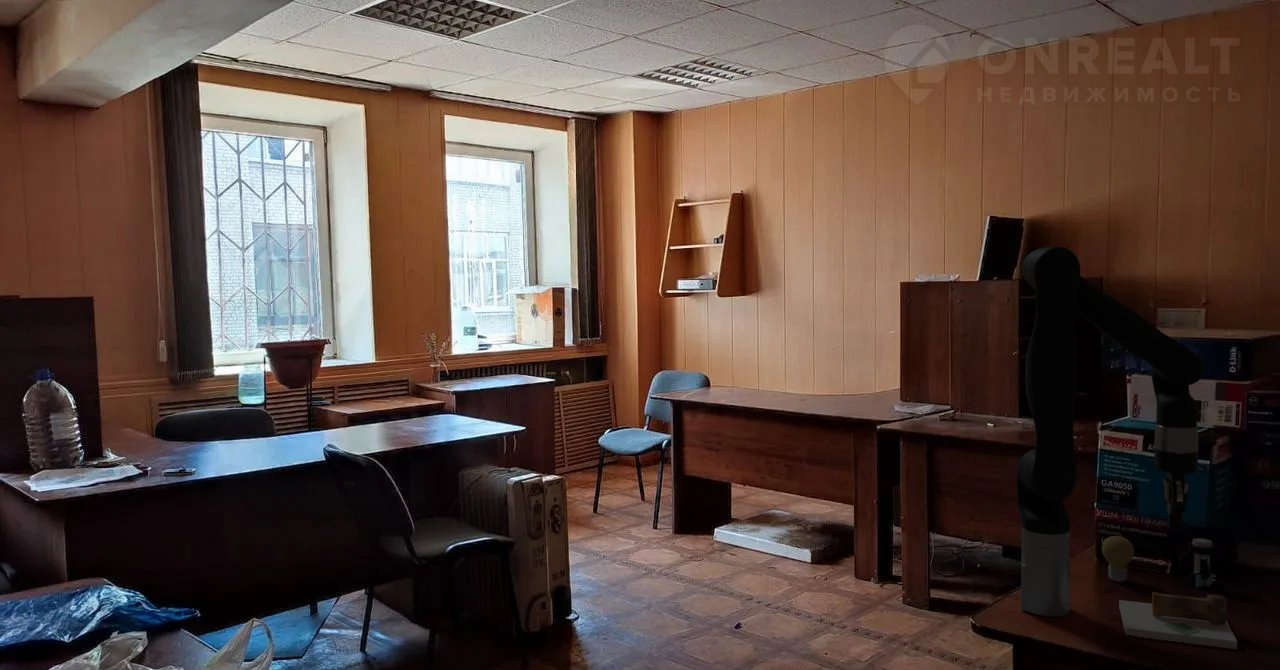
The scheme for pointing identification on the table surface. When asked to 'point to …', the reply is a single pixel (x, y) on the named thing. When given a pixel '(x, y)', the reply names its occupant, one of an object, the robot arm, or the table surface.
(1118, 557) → the light bulb
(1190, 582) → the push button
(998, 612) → the table surface
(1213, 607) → the peg lever
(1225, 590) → the table surface
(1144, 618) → the plate
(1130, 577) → the table surface
